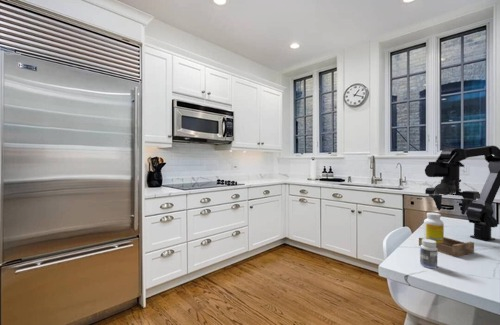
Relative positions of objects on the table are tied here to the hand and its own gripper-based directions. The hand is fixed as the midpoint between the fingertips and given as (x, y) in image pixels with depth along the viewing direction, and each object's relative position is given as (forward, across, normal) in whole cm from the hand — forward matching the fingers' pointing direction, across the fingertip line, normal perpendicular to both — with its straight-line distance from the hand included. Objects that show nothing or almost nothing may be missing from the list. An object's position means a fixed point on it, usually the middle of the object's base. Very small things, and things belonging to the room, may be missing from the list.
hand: (450, 212), depth 113 cm
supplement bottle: (+12, +1, -15) cm, 19 cm away
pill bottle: (+12, +13, -38) cm, 42 cm away
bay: (+12, +6, -16) cm, 20 cm away
